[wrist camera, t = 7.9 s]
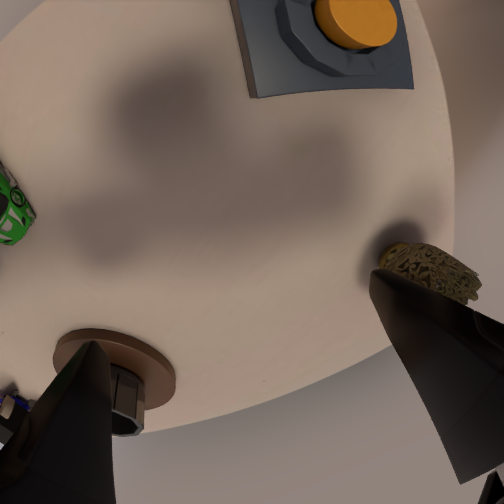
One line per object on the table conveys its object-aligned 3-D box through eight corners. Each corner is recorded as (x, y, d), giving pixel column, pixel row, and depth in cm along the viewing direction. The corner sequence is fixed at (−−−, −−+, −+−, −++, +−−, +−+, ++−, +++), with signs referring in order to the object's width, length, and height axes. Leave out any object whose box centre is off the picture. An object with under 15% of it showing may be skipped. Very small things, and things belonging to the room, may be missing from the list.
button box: (250, 98, 14) (265, 99, 11) (225, -19, 10) (232, -48, 7) (394, 87, 15) (433, 92, 12) (375, -15, 11) (410, -28, 7)
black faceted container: (158, 394, 25) (158, 432, 21) (109, 404, 25) (105, 438, 21) (104, 346, 20) (95, 391, 16) (56, 361, 21) (45, 399, 17)
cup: (370, 214, 20) (438, 276, 13) (433, 220, 21) (494, 270, 15) (345, 293, 24) (388, 364, 17) (406, 288, 25) (451, 344, 18)
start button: (321, 49, 10) (337, 44, 9) (307, -14, 8) (321, -25, 7) (382, 51, 11) (403, 49, 9) (370, -7, 9) (389, -14, 7)
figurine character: (11, 371, 25) (-10, 400, 26) (-2, 414, 18) (-19, 434, 19) (48, 396, 28) (20, 420, 29) (41, 439, 22) (14, 454, 23)
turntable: (98, 405, 28) (97, 413, 26) (33, 337, 20) (29, 346, 19) (193, 395, 28) (193, 404, 27) (141, 317, 21) (139, 327, 20)
